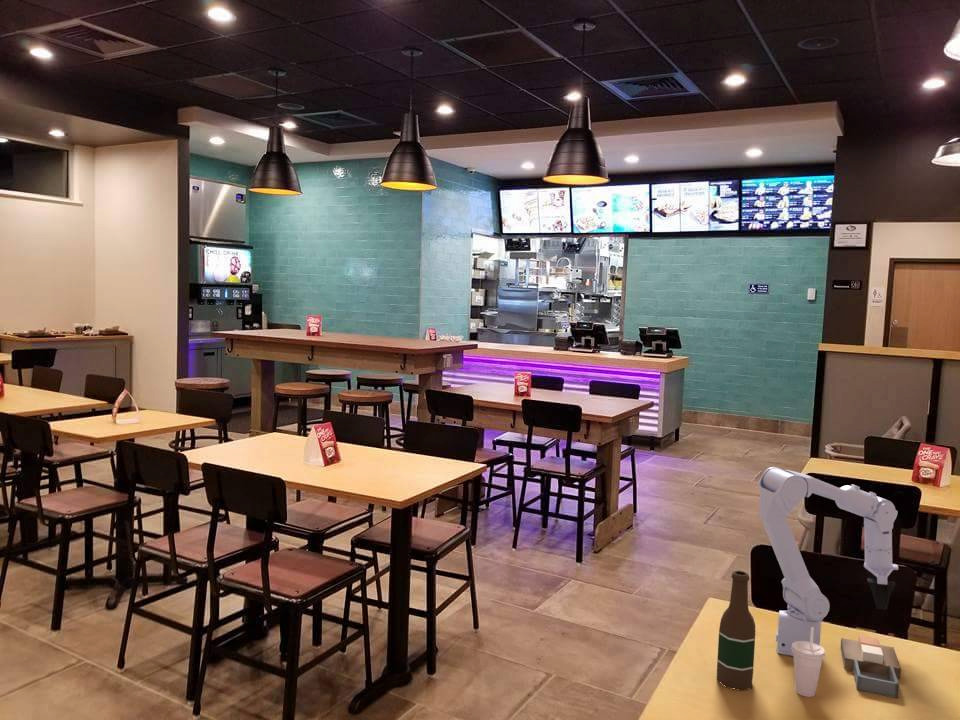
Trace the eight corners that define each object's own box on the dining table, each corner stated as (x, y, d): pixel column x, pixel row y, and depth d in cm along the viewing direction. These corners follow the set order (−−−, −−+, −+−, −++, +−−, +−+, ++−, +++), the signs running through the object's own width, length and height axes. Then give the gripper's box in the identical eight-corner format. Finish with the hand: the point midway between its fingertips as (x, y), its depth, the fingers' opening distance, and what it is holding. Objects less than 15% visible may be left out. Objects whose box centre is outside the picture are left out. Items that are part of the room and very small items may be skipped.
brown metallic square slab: (844, 668, 163) (845, 658, 163) (840, 648, 173) (841, 637, 173) (900, 679, 159) (901, 668, 159) (892, 657, 169) (893, 647, 169)
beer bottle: (725, 669, 161) (731, 563, 160) (760, 682, 156) (766, 573, 154) (708, 681, 156) (714, 572, 154) (743, 695, 150) (750, 582, 149)
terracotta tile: (859, 650, 167) (860, 642, 167) (858, 643, 170) (858, 635, 170) (879, 654, 165) (880, 645, 165) (877, 646, 169) (878, 638, 169)
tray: (856, 689, 154) (857, 676, 154) (852, 670, 162) (853, 657, 162) (897, 698, 151) (898, 684, 151) (891, 678, 159) (892, 664, 159)
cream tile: (862, 660, 162) (862, 651, 162) (860, 652, 166) (861, 644, 166) (882, 664, 161) (883, 655, 160) (880, 656, 164) (880, 647, 164)
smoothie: (825, 702, 149) (830, 636, 148) (792, 698, 150) (796, 632, 149) (817, 686, 155) (821, 622, 154) (785, 682, 156) (789, 619, 155)
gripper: (902, 558, 164) (903, 616, 165) (893, 537, 177) (894, 591, 178) (866, 556, 166) (868, 613, 168) (860, 535, 180) (861, 588, 181)
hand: (879, 601), depth 173 cm, fingers open, 7 cm apart
